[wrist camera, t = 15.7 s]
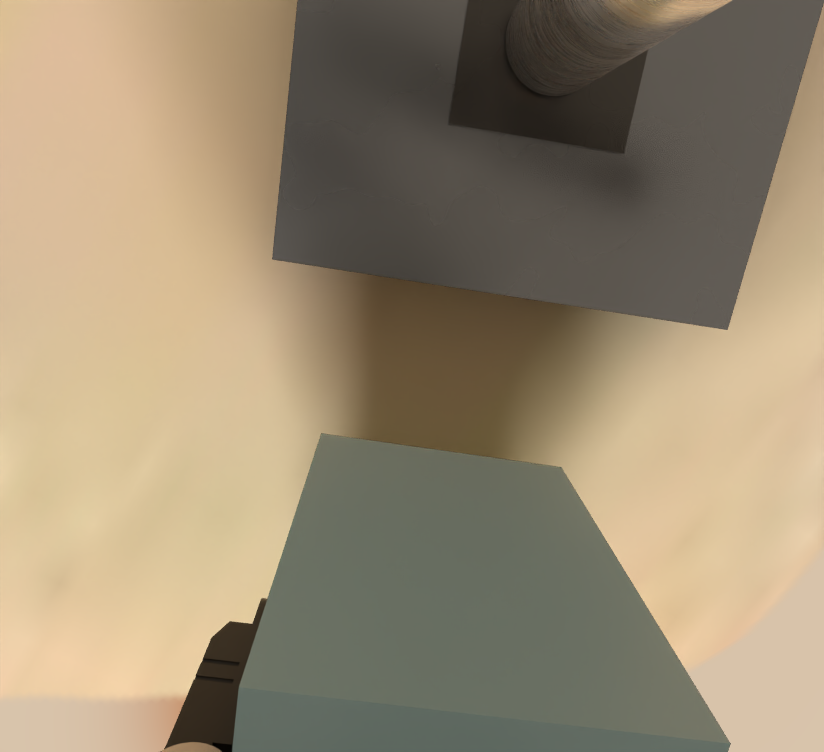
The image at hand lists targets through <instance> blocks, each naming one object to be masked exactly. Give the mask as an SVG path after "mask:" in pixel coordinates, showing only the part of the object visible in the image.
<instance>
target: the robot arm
mask: <svg viewBox="0 0 824 752" xmlns="http://www.w3.org/2000/svg"><path fill="white" fill-rule="evenodd" d="M266 602H267V599H266V598H262V599H261V601H260V604H259V607H258V610H257V613H256V616H255V618H254V621H253V624H248V623H239V622H231V621H230V622H229V623H228V624H226V625H225V626H224V627H223V628H222V629H221V630H220V631H219V632H218V633H216V634H215V635H214V636H213V637H212V638H211V641H210V643H209V645H208V648H207V650H206V652H205V655H204V657H203V661H202V662H201V664H200V667H199V669H198V671H197V674H196V678H195V680H194V681H193V683H192V686H191V688H190V690H189V693H188V695H187V697H186V700H185V702H184V705H183V707H182V709H181V712H180V714H179V716H178V719H177V721H176V724H175V726H174V728H173V731H172V733H171V735H170V738H169V740H168V743H167V745H166V747H165V748H164V750H162V751H160V752H232V747H233V737H234V728H235V718H236V709H237V699H238V690H239V685H240V682H241V679H242V676H243V673H244V670H245V667H246V664H247V660H248V657H249V654H250V651H251V648H252V645H253V642H254V639H255V636H256V633H257V630H258V627H259V624H260V620H261V617H262V614H263V611H264V608H265V605H266Z"/></svg>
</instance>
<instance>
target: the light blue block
mask: <svg viewBox="0 0 824 752" xmlns="http://www.w3.org/2000/svg"><path fill="white" fill-rule="evenodd" d="M730 744H731V743H730V742H729V740H728V739H727V737H726V735H725V734H724V732H723V730H722V729H721V727H720V725H719V724H718V722H717V721H716V719H715V717H714V716H713V714H712V713H711V711H710V709H709V708H708V706H707V704H706V703H705V701H704V699H703V698H702V696H701V695H700V693H699V691H698V690H697V688H696V686H695V685H694V683H693V681H692V680H691V678H690V677H689V675H688V673H687V672H686V670H685V668H684V667H683V665H682V663H681V662H680V660H679V659H678V657H677V655H676V654H675V652H674V650H673V649H672V647H671V646H670V644H669V642H668V641H667V639H666V637H665V636H664V634H663V632H662V631H661V629H660V628H659V626H658V624H657V623H656V621H655V619H654V618H653V616H652V615H651V613H650V611H649V610H648V608H647V606H646V605H645V603H644V601H643V600H642V598H641V597H640V595H639V593H638V592H637V590H636V588H635V587H634V585H633V584H632V582H631V580H630V579H629V577H628V575H627V574H626V572H625V570H624V569H623V567H622V566H621V564H620V562H619V561H618V559H617V557H616V556H615V554H614V553H613V551H612V549H611V548H610V546H609V544H608V543H607V541H606V539H605V538H604V536H603V535H602V533H601V531H600V530H599V528H598V526H597V525H596V523H595V522H594V520H593V518H592V517H591V515H590V513H589V512H588V510H587V509H586V507H585V505H584V504H583V502H582V500H581V499H580V497H579V495H578V494H577V492H576V491H575V489H574V487H573V486H572V484H571V482H570V481H569V479H568V478H567V476H566V474H565V473H564V471H563V469H562V468H561V467H556V466H549V465H542V464H535V463H528V462H521V461H514V460H507V459H499V458H492V457H485V456H478V455H471V454H464V453H457V452H450V451H443V450H436V449H428V448H421V447H414V446H407V445H400V444H393V443H386V442H379V441H372V440H364V439H357V438H350V437H343V436H336V435H329V434H322V433H321V436H320V439H319V442H318V445H317V448H316V451H315V454H314V458H313V461H312V464H311V467H310V470H309V473H308V476H307V479H306V482H305V485H304V488H303V491H302V494H301V497H300V501H299V504H298V507H297V510H296V513H295V516H294V519H293V522H292V525H291V528H290V531H289V534H288V537H287V541H286V544H285V547H284V550H283V553H282V556H281V559H280V562H279V565H278V568H277V571H276V574H275V577H274V580H273V584H272V587H271V590H270V593H269V596H268V599H267V602H266V605H265V608H264V611H263V614H262V617H261V620H260V624H259V627H258V630H257V633H256V636H255V639H254V642H253V645H252V648H251V651H250V654H249V657H248V660H247V664H246V667H245V670H244V673H243V676H242V679H241V682H240V685H239V690H238V699H237V709H236V718H235V728H234V737H233V747H232V752H728V750H729V747H730Z"/></svg>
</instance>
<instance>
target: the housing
mask: <svg viewBox="0 0 824 752" xmlns="http://www.w3.org/2000/svg"><path fill="white" fill-rule="evenodd" d="M519 1H520V0H298V2H297V12H296V22H295V32H294V43H293V53H292V63H291V73H290V84H289V94H288V104H287V114H286V124H285V135H284V145H283V155H282V165H281V176H280V186H279V196H278V206H277V216H276V227H275V237H274V247H273V257H272V259H273V260H279V261H286V262H292V263H299V264H305V265H312V266H318V267H325V268H331V269H338V270H344V271H350V272H357V273H363V274H370V275H376V276H383V277H389V278H396V279H402V280H409V281H415V282H422V283H428V284H434V285H441V286H447V287H454V288H460V289H467V290H473V291H480V292H486V293H493V294H499V295H506V296H512V297H518V298H525V299H531V300H538V301H544V302H551V303H557V304H564V305H570V306H577V307H583V308H590V309H596V310H602V311H609V312H615V313H622V314H628V315H635V316H641V317H648V318H654V319H661V320H667V321H673V322H680V323H686V324H693V325H699V326H706V327H712V328H719V329H725V330H728V326H729V323H730V320H731V316H732V313H733V309H734V306H735V303H736V299H737V296H738V292H739V289H740V286H741V282H742V279H743V275H744V272H745V269H746V265H747V262H748V258H749V255H750V252H751V248H752V245H753V241H754V238H755V235H756V231H757V228H758V224H759V221H760V218H761V214H762V211H763V207H764V204H765V201H766V197H767V194H768V190H769V187H770V184H771V180H772V177H773V173H774V170H775V167H776V163H777V160H778V156H779V153H780V150H781V146H782V143H783V139H784V136H785V133H786V129H787V126H788V122H789V119H790V116H791V112H792V109H793V105H794V102H795V99H796V95H797V92H798V88H799V85H800V82H801V78H802V75H803V71H804V68H805V65H806V61H807V58H808V54H809V51H810V48H811V44H812V41H813V37H814V34H815V31H816V27H817V24H818V20H819V17H820V14H821V10H822V7H823V3H824V0H732V1H730V2H729V3H727V4H725V5H724V6H722V7H720V8H718V9H717V10H715V11H713V12H712V13H710V14H708V15H706V16H705V17H703V18H701V19H700V20H698V21H696V22H694V23H693V24H691V25H689V26H687V27H686V28H684V29H682V30H681V31H679V32H677V33H675V34H674V35H672V36H670V37H669V38H667V39H665V40H663V41H662V42H660V43H658V44H657V45H655V46H653V47H651V48H650V49H648V50H646V51H644V52H643V53H641V54H639V55H638V56H636V57H634V58H632V59H631V60H629V61H627V62H626V63H624V64H622V65H620V66H619V67H617V68H615V69H614V70H612V71H610V72H608V73H607V74H605V75H603V76H601V77H600V78H598V79H596V80H595V81H593V82H591V83H589V84H588V85H586V86H584V87H583V88H581V89H579V90H577V91H575V92H573V93H570V94H567V95H561V96H548V95H543V94H540V93H537V92H535V91H533V90H531V89H530V88H528V87H527V86H526V85H524V84H523V83H522V82H521V81H520V80H519V79H518V77H517V76H516V74H515V73H514V71H513V69H512V67H511V66H510V63H509V60H508V56H507V52H506V32H507V27H508V23H509V20H510V17H511V15H512V13H513V11H514V9H515V7H516V6H517V4H518V2H519Z"/></svg>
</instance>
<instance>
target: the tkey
mask: <svg viewBox="0 0 824 752" xmlns="http://www.w3.org/2000/svg"><path fill="white" fill-rule="evenodd" d="M730 1H732V0H520V1H519V2H518V4H517V6H516V7H515V9H514V11H513V13H512V15H511V17H510V20H509V23H508V27H507V32H506V52H507V56H508V60H509V63H510V66H511V67H512V69H513V71H514V73H515V74H516V76H517V77H518V79H519V80H520V81H521V82H522V83H523V84H524V85H526V86H527V87H528V88H530V89H531V90H533V91H535V92H537V93H540V94H543V95H548V96H561V95H567V94H570V93H573V92H575V91H577V90H579V89H581V88H583V87H584V86H586V85H588V84H589V83H591V82H593V81H595V80H596V79H598V78H600V77H601V76H603V75H605V74H607V73H608V72H610V71H612V70H614V69H615V68H617V67H619V66H620V65H622V64H624V63H626V62H627V61H629V60H631V59H632V58H634V57H636V56H638V55H639V54H641V53H643V52H644V51H646V50H648V49H650V48H651V47H653V46H655V45H657V44H658V43H660V42H662V41H663V40H665V39H667V38H669V37H670V36H672V35H674V34H675V33H677V32H679V31H681V30H682V29H684V28H686V27H687V26H689V25H691V24H693V23H694V22H696V21H698V20H700V19H701V18H703V17H705V16H706V15H708V14H710V13H712V12H713V11H715V10H717V9H718V8H720V7H722V6H724V5H725V4H727V3H729V2H730Z"/></svg>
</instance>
